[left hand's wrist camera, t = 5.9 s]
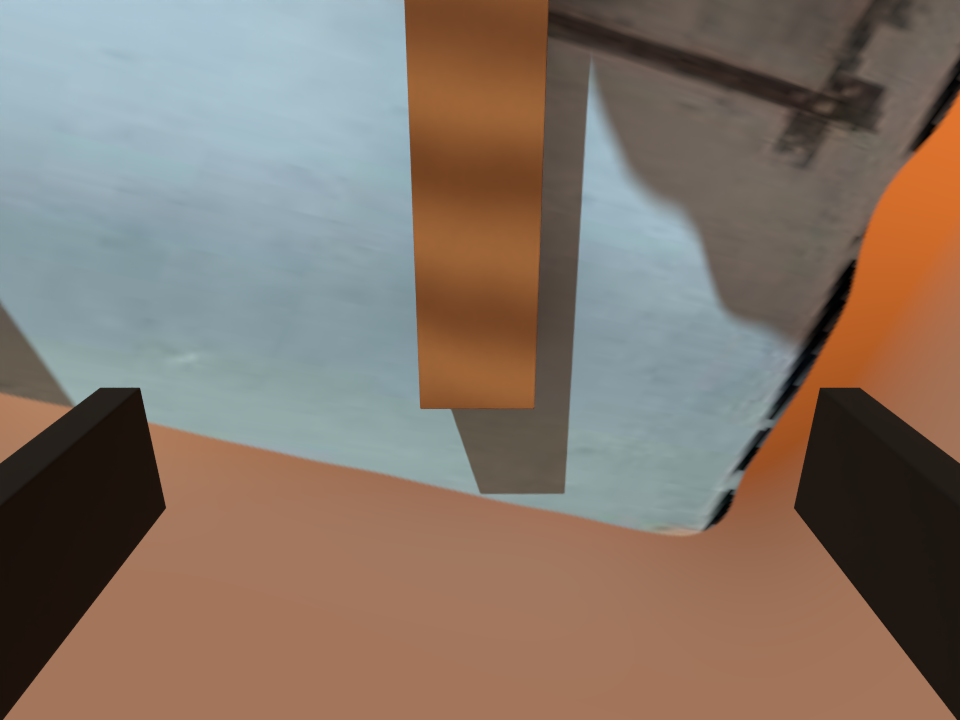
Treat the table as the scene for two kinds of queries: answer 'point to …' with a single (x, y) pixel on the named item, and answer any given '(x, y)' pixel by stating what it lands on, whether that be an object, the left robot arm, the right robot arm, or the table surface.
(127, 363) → the table surface
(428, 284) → the post
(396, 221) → the table surface
